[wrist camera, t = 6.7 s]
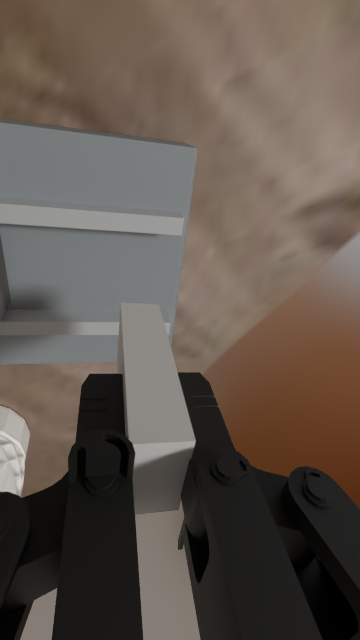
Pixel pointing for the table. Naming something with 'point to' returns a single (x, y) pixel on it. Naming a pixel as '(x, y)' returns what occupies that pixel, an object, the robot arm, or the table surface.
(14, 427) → the white cup
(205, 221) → the table surface
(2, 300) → the tan block
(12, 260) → the board
